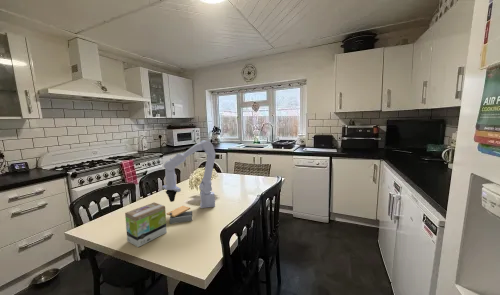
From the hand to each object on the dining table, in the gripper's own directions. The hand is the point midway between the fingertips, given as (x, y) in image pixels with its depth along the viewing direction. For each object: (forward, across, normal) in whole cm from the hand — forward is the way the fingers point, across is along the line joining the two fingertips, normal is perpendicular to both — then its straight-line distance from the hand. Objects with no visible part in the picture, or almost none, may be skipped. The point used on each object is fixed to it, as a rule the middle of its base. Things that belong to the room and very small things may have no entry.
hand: (172, 201), depth 126 cm
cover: (+4, +8, -3) cm, 10 cm away
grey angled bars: (+7, +12, -4) cm, 15 cm away
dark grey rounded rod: (+8, +12, -4) cm, 15 cm away
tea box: (+8, +12, -24) cm, 28 cm away
